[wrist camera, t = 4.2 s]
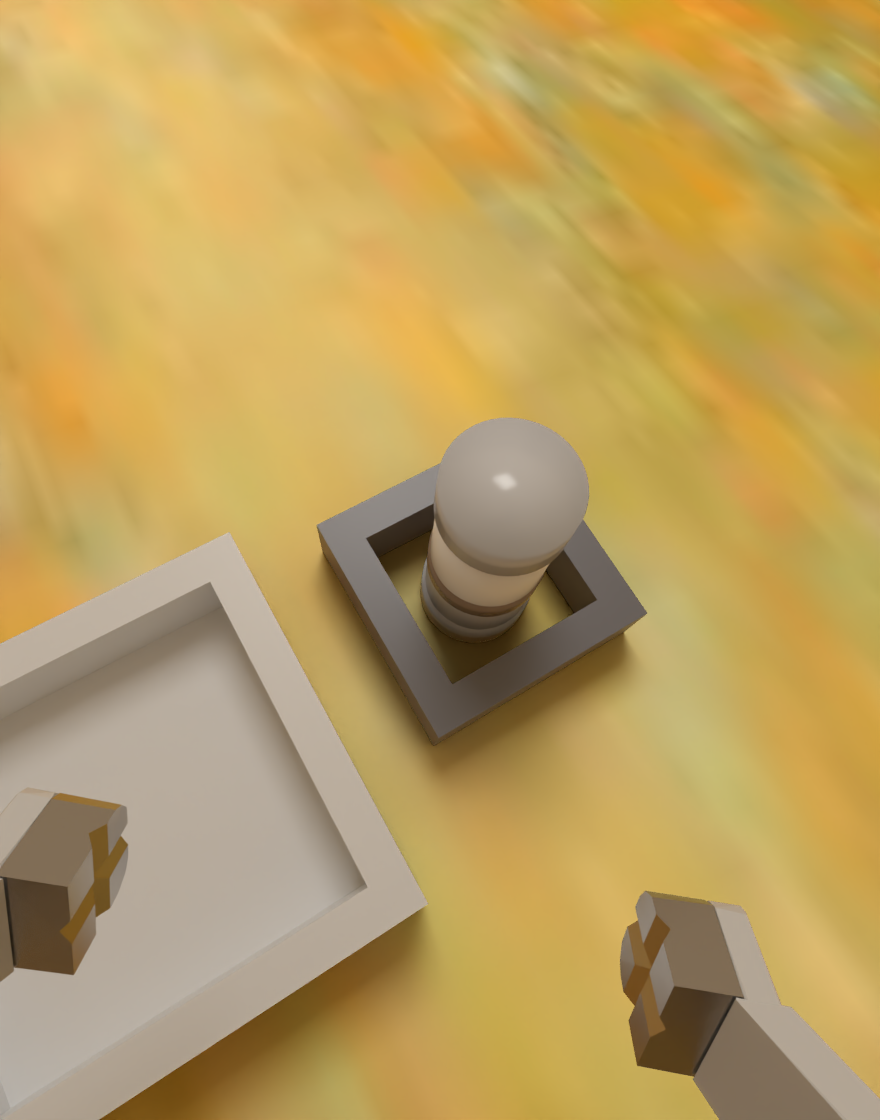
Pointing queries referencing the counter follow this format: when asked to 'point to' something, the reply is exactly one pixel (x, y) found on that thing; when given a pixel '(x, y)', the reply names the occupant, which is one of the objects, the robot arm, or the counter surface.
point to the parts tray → (184, 830)
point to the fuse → (498, 524)
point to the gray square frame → (433, 698)
